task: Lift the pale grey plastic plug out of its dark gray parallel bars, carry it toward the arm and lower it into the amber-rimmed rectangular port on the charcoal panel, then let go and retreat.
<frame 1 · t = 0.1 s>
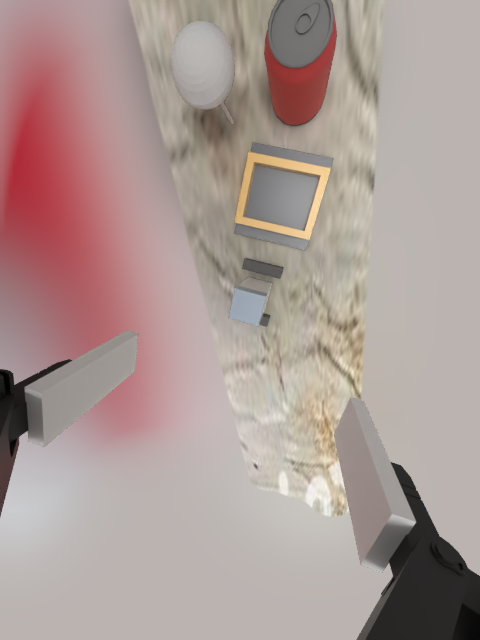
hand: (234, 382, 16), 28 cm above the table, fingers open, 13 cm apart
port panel: (280, 199, 37), on the table
lollipop: (232, 122, 36), on the table
plug: (257, 291, 42), on the table
dark gray parallel bars: (257, 291, 42), on the table
beer can: (298, 97, 33), on the table
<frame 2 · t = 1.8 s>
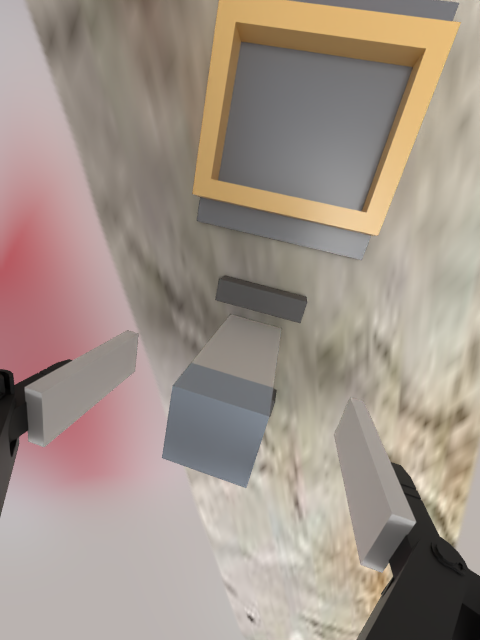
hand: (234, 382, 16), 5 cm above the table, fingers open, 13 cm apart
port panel: (303, 135, 15), on the table
plug: (249, 344, 20), on the table
dark gray parallel bars: (249, 344, 20), on the table
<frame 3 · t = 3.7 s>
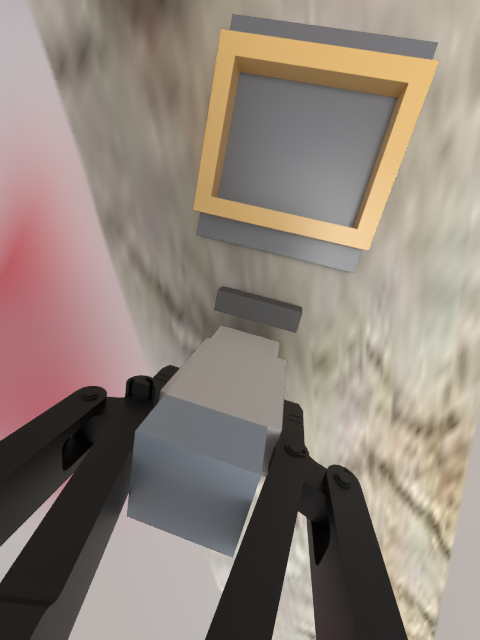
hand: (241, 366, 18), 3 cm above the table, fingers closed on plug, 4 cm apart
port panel: (297, 157, 16), on the table
plug: (243, 359, 18), point 3 cm above the table, touching gripper
dark gray parallel bars: (247, 353, 21), on the table
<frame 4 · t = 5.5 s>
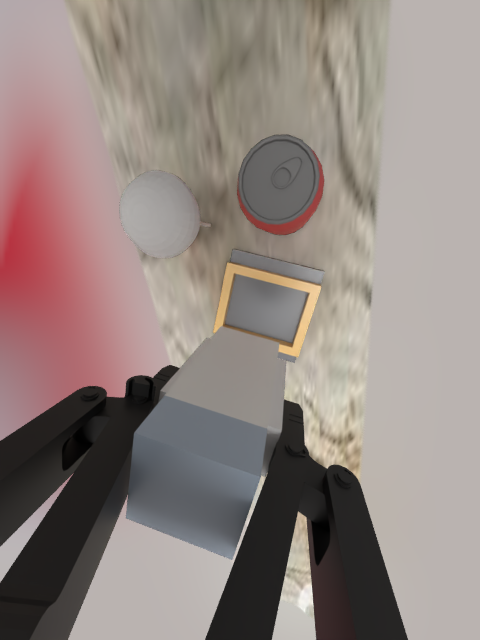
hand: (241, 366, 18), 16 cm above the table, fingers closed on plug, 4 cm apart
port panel: (265, 307, 33), on the table
lollipop: (209, 225, 31), on the table
plug: (243, 360, 18), point 16 cm above the table, touching gripper
beer can: (283, 204, 29), on the table
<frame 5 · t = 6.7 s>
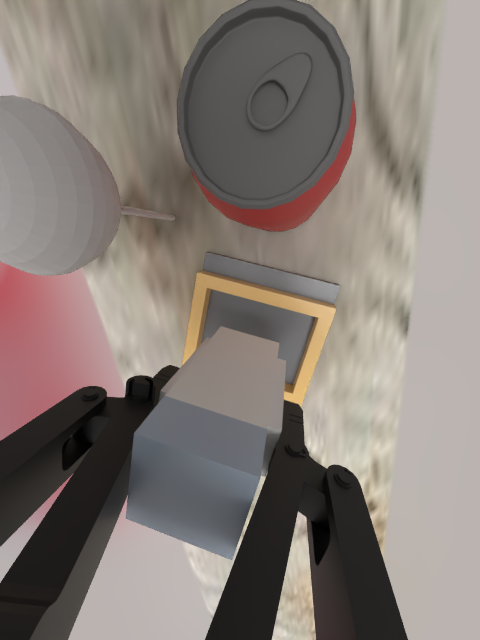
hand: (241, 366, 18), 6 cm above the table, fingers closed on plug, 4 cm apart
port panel: (254, 333, 23), on the table
lollipop: (173, 217, 22), on the table
plug: (243, 360, 18), point 6 cm above the table, touching gripper
beer can: (279, 185, 19), on the table
when the fingers open (2 cm above the table, at t = 7.7 s): plug drops 1 cm, resting on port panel.
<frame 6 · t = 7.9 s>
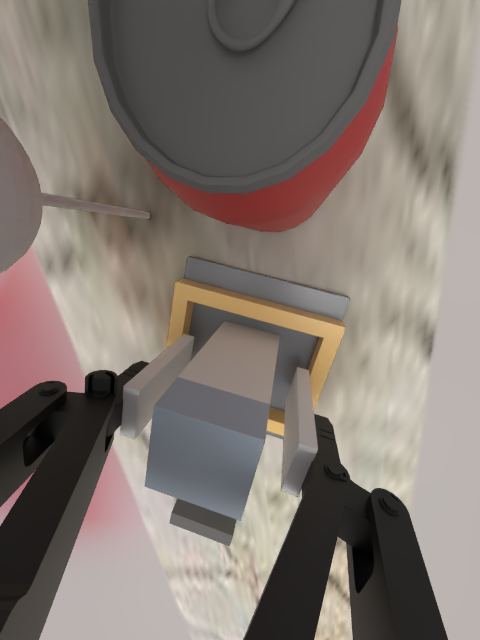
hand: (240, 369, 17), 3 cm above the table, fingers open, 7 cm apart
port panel: (246, 353, 20), on the table
lollipop: (148, 215, 18), on the table
plug: (246, 352, 19), point 1 cm above the table, touching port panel
dark gray parallel bars: (212, 484, 24), on the table
beer can: (275, 175, 16), on the table
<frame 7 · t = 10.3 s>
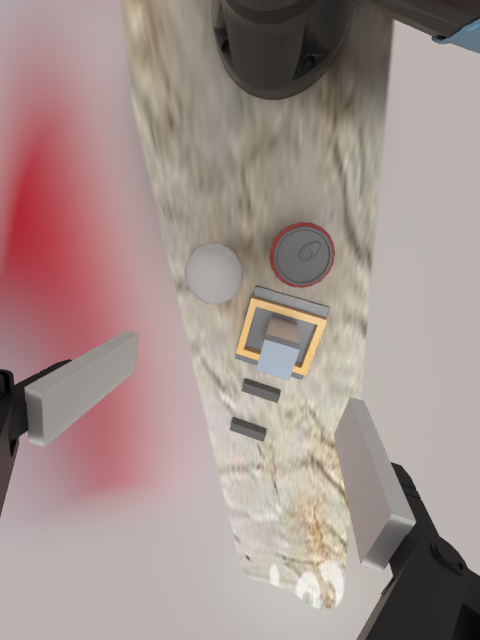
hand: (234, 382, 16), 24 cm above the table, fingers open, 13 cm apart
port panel: (279, 333, 40), on the table
lollipop: (237, 265, 38), on the table
plug: (280, 332, 39), point 1 cm above the table, touching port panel
dark gray parallel bars: (254, 407, 44), on the table
beer can: (298, 253, 36), on the table
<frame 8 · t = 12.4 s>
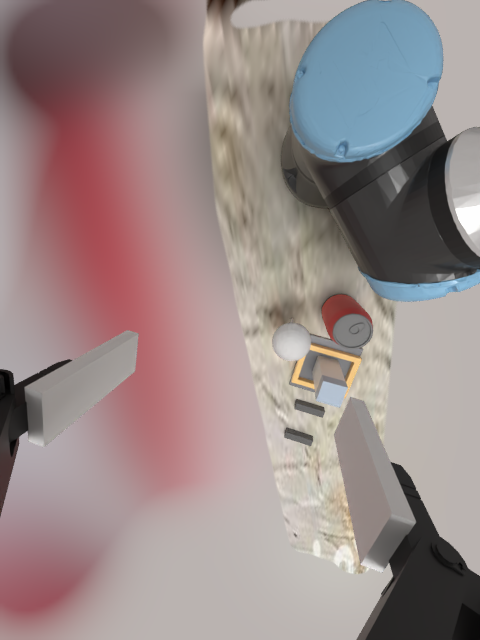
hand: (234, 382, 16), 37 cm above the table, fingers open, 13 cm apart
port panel: (324, 366, 53), on the table
lollipop: (291, 318, 52), on the table
plug: (324, 366, 52), point 1 cm above the table, touching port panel
dark gray parallel bars: (303, 420, 58), on the table
beer can: (339, 310, 49), on the table
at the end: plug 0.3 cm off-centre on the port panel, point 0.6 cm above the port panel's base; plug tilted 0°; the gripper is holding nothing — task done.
